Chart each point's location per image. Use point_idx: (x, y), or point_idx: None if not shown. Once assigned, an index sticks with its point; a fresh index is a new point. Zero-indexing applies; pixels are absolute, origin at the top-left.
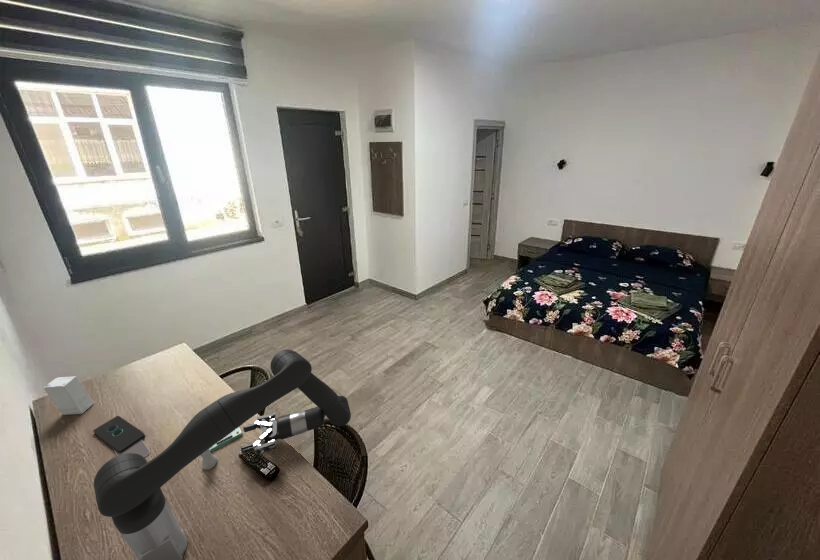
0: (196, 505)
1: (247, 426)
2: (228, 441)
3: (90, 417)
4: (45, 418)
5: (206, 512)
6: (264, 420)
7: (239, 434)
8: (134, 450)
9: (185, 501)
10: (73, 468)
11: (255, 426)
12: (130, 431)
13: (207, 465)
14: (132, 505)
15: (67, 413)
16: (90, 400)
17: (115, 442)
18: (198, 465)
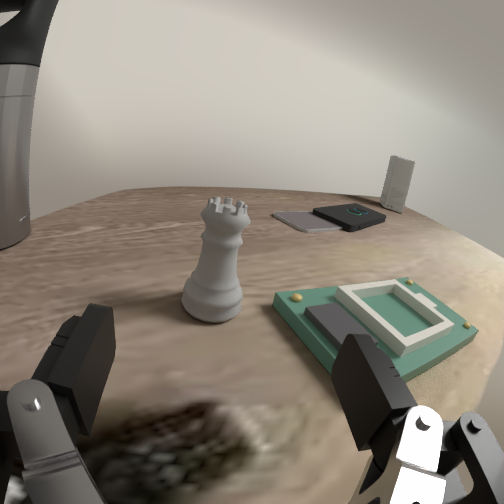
0: (54, 271)
1: (367, 355)
2: (318, 352)
3: (380, 210)
4: (372, 197)
5: (5, 284)
6: (455, 492)
7: None
8: (314, 221)
9: (93, 258)
10: (291, 196)
11: (380, 432)
12: (357, 218)
13: (186, 282)
14: None
15: (380, 201)
16: (402, 205)
17: (333, 208)
18: None
